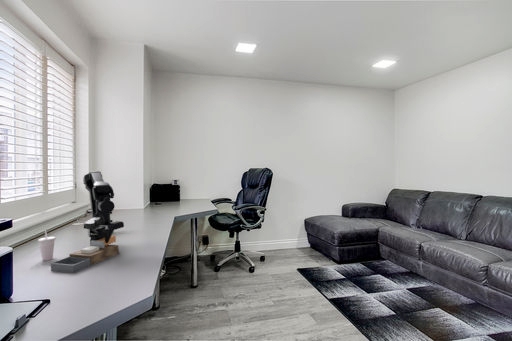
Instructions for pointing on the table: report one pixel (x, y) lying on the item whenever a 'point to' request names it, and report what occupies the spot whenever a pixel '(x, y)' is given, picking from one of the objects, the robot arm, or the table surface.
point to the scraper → (103, 242)
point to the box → (70, 264)
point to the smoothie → (47, 246)
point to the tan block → (98, 254)
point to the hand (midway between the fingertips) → (104, 242)
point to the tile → (90, 249)
